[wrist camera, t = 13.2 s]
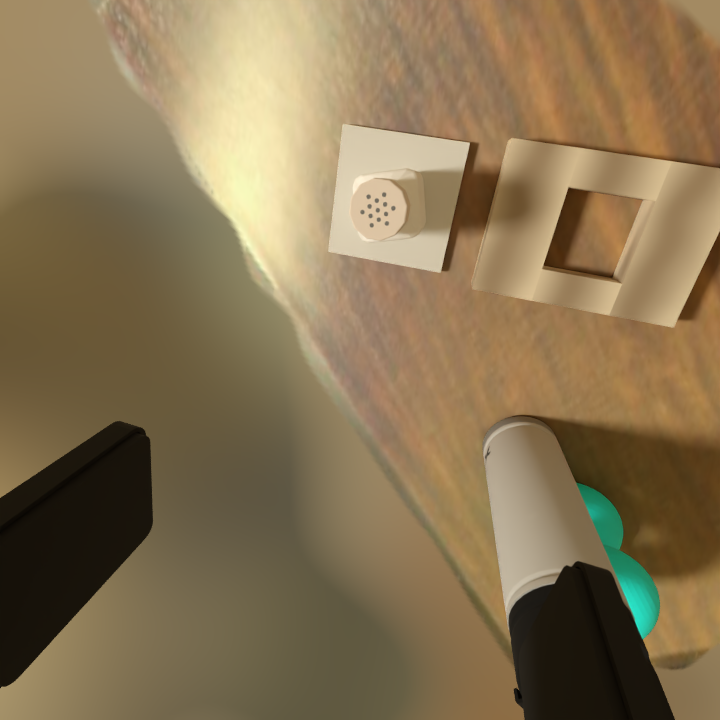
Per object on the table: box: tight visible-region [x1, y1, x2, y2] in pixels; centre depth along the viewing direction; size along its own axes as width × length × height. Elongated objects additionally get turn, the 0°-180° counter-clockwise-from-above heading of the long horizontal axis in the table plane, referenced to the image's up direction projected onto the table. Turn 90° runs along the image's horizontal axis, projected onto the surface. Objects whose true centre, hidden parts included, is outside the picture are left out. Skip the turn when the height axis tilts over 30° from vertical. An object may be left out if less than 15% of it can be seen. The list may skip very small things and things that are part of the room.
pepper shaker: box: [349, 168, 426, 243], centre depth 27 cm, size 4×4×10 cm
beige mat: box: [328, 124, 470, 273], centre depth 31 cm, size 9×9×1 cm
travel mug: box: [483, 416, 651, 708], centre depth 28 cm, size 6×7×20 cm
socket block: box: [471, 138, 720, 328], centre depth 29 cm, size 14×10×2 cm
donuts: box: [576, 483, 660, 639], centre depth 35 cm, size 10×10×10 cm
